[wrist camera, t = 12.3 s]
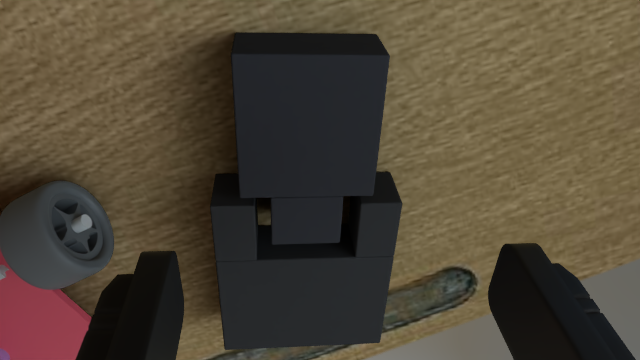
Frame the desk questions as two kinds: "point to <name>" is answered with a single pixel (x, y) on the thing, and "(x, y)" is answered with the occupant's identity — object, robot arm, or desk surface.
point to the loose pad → (307, 126)
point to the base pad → (303, 273)
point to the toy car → (48, 269)
